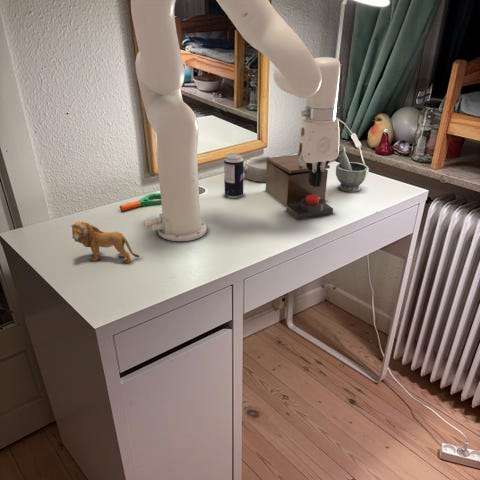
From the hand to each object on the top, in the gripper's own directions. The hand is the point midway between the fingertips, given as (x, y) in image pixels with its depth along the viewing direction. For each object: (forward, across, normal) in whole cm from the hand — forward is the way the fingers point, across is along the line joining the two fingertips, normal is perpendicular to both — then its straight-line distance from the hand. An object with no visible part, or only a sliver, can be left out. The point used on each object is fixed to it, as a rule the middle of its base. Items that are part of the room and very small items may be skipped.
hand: (314, 185), depth 132 cm
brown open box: (+8, +2, +14) cm, 16 cm away
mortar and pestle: (+9, +21, +14) cm, 26 cm away
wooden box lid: (-2, +2, +14) cm, 14 cm away
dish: (+8, +1, +34) cm, 35 cm away
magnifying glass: (+8, -42, +24) cm, 49 cm away
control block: (+8, 0, +1) cm, 8 cm away
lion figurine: (+8, -58, -6) cm, 59 cm away
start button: (+5, 0, 0) cm, 5 cm away
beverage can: (+8, -15, +21) cm, 27 cm away
